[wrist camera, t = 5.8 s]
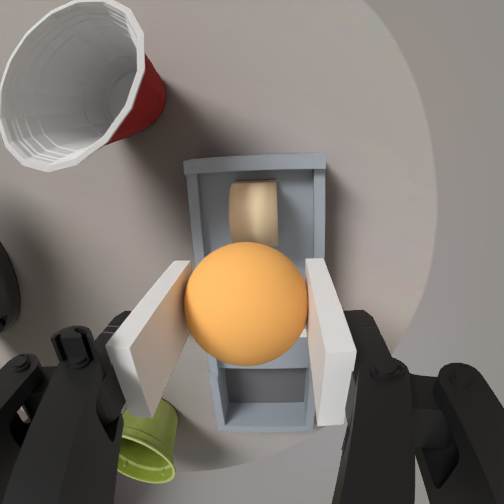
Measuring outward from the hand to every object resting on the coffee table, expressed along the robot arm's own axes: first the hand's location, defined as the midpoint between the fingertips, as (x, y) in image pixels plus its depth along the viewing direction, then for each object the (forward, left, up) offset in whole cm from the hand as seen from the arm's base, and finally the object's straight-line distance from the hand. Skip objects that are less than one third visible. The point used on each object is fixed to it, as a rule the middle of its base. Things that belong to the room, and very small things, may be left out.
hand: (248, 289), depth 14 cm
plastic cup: (-10, +11, -14) cm, 21 cm away
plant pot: (-14, -24, -14) cm, 31 cm away
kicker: (0, +1, -11) cm, 11 cm away
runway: (0, -8, -14) cm, 16 cm away
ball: (0, 0, +1) cm, 1 cm away
